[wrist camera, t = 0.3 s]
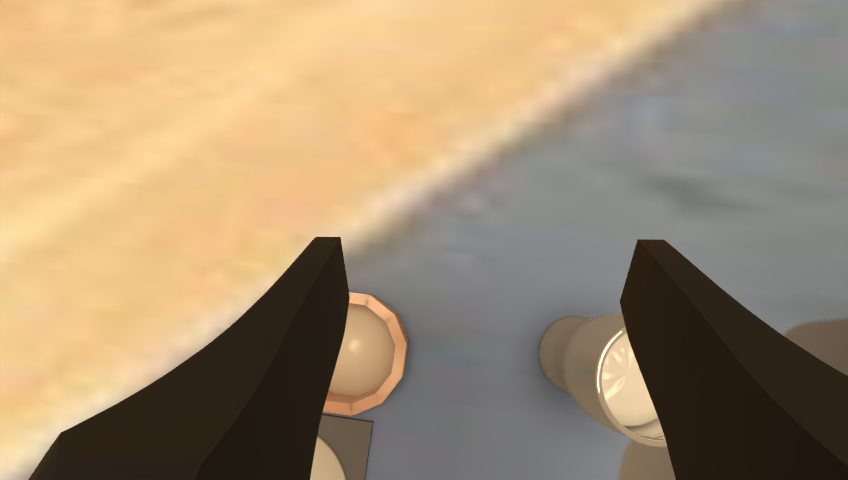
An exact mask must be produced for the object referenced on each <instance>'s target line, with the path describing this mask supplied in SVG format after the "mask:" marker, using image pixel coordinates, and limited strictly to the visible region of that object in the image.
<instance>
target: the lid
mask: <svg viewBox="0 0 848 480" xmlns="http://www.w3.org/2000/svg"><path fill="white" fill-rule="evenodd" d="M310 480H347V479H346V475H345V472H344V468H343V466H342V464H341V461H340V459H339V458H338V456H337V454H336V453H335V451H334V450H333V449H332V448H331V446H330V445H329V444H328V443H327V442H326V441H325V440H324V439H323V438H321V437H320V436H319V435H317V441H316V447H315V453H314V458H313V464H312V470H311V477H310Z"/></svg>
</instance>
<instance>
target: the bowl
mask: <svg viewBox="0 0 848 480" xmlns="http://www.w3.org/2000/svg"><path fill="white" fill-rule="evenodd" d="M349 296H350V299H349V306H348V314H347V321H346V327H345V333H344V337H343V341H342V344H341V348H340V352H339V355H338V359H337V363H336V366H335V370H334V373H333V377H332V380H331V384H330V387H329V391H328V394H327V398H326V401H325V405H324V409H323V412H329V413H336V414H343V415H349V416H353V415H355V414H357V413H360V412H362V411H365V410H367V409H369V408H372V407H374V406H377V405H379V404H382V403H383V401H384V400H385V399H386V397H387V396H388V395H389V393H390V392H391V391H392V390H393V388H394V387H395V386H396V384H397V383H398V382H399V380H400V379H401V378H402V376H403V373H404V370H405V363H406V356H407V349H408V342H409V341H408V338H407V335H406V333H405V330H404V328H403V325H402V323H401V320H400V318H399V315H398V313H396V312H395V311H394V310H393V309H391V308H390V307H389V306H388V305H386V304H385V303H384V302H383V301H381V300H380V299H379V298H377V297H376V296H373V295H366V294H359V293H352V292H349Z"/></svg>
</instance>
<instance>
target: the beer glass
mask: <svg viewBox="0 0 848 480" xmlns="http://www.w3.org/2000/svg"><path fill="white" fill-rule="evenodd" d="M539 360H540V364H541V367H542V370H543V372H544V373H545V375H546V377H547V378H548V379H549V380H550V381H551V382H552V383H553V384H554V385H555V386H557V387H558V388H560V389H562V390H564V391H566V392H570V394H571V396H572V397H573V398H574V400H575V401H576V402H577V404H578V405H579V406H580V407H581V408H582V409H583V410H584V411H585V412H586V413H587V414H589V415H590V416H591V417H592V418H593V419H595V420H596V421H597V422H599V423H601V424H602V425H604V426H606V427H607V428H609V429H611V430H613V431H615V432H617V433H619V434H622V435H624V436H626V437H628V438H630V439H632V440H634V441H636V442H638V443H641V444H644V445H648V446H653V447H667V444H666V440H665V436H664V433H663V430H662V427H661V424H660V421H659V419H658V416H657V413H656V411H655V408H654V405H653V403H652V400H651V398H650V395H649V392H648V390H647V387H646V385H645V382H644V379H643V377H642V374H641V372H640V369H639V366H638V364H637V361H636V358H635V356H634V353H633V350H632V348H631V345H630V342H629V339H628V335H627V331H626V327H625V323H624V318H623V314H622V313H620V314H608V315H603V316H600V317H597V318H594V319H591V320H590V319H587V318H583V317H567V318H563V319H561V320H559V321H557V322H555V323H554V324H553V325H551V326H550V327H549V328H548V330H547V331H546V332H545V334H544V335H543V337H542V340H541V343H540V347H539Z"/></svg>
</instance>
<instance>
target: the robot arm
mask: <svg viewBox="0 0 848 480" xmlns="http://www.w3.org/2000/svg"><path fill="white" fill-rule="evenodd" d="M349 299H350V296H349V290H348V283H347V277H346V270H345V264H344V258H343V251H342V245H341V238H340V237H316V238H315V239H313V240H312V242H311V243H310V244H309V245H308V246H307V247H306V248H305V250H304V251H303V252H302V253H301V254H300V255H299V257H298V258H297V259H296V260H295V261H294V262H293V263H292V265H291V266H290V267H289V268H288V269H287V270H286V271H285V272H284V274H283V275H282V276H281V277H280V278H279V279H278V280H277V281H276V282H275V283H274V284H273V285H272V286H271V288H270V289H269V290H268V291H267V292H266V293H265V294H264V295H263V296H262V297H261V298H260V299H259V300H258V301H257V302H256V303H255V304H254V305H253V306H252V307H251V308H250V309H249V310H247V311H246V312H245V313H244V314H243V315H242V316H241V317H240V318H239V319H238V320H237V321H236V322H235V323H234V324H232V325H231V326H230V327H229V328H228V329H227V330H225V331H224V332H223V333H222V334H221V335H219V336H218V337H217V338H216V339H214V340H213V341H212V342H211V343H209V344H208V345H207V346H206V347H204V348H203V349H201V350H200V351H199V352H197V353H196V354H194V355H193V356H192V357H190V358H189V359H187V360H186V361H184V362H183V363H182V364H180V365H179V366H177V367H176V368H175V369H173V370H172V371H170V372H169V373H167V374H166V375H164V376H163V377H161V378H159V379H158V380H156V381H155V382H153V383H151V384H150V385H148V386H147V387H145V388H143V389H142V390H140V391H138V392H137V393H135V394H133V395H132V396H130V397H128V398H126V399H125V400H123V401H121V402H119V403H118V404H116V405H114V406H112V407H110V408H108V409H106V410H104V411H103V412H101V413H99V414H97V415H95V416H93V417H91V418H89V419H87V420H85V421H83V422H81V423H79V424H78V425H76V426H74V427H72V428H70V429H68V430H66V431H63V432H61V433H60V435H59V436H58V437H57V439H56V440H55V441H54V443H53V444H52V446H51V447H50V448H49V450H48V451H47V453H46V454H45V456H44V457H43V459H42V460H41V462H40V463H39V465H38V466H37V468H36V469H35V471H34V472H33V474H32V475H31V477H30V478H29V480H310V477H311V470H312V464H313V458H314V453H315V447H316V441H317V435H318V430H319V425H320V421H321V417H322V412H323V409H324V405H325V401H326V398H327V394H328V391H329V387H330V384H331V380H332V377H333V373H334V370H335V366H336V363H337V359H338V355H339V352H340V348H341V344H342V341H343V337H344V333H345V327H346V321H347V314H348V306H349ZM620 304H621V309H622V314H623V318H624V323H625V327H626V331H627V335H628V339H629V342H630V345H631V348H632V350H633V353H634V356H635V358H636V361H637V364H638V366H639V369H640V372H641V374H642V377H643V379H644V382H645V385H646V387H647V390H648V392H649V395H650V398H651V400H652V403H653V405H654V408H655V411H656V413H657V416H658V419H659V421H660V424H661V427H662V430H663V433H664V436H665V440H666V444H667V447H668V451H669V455H670V459H671V463H672V466H673V470H674V474H675V477H676V480H848V376H847V375H845V374H843V373H841V372H840V371H838V370H836V369H834V368H833V367H831V366H829V365H828V364H826V363H824V362H823V361H821V360H819V359H818V358H816V357H815V356H813V355H812V354H810V353H809V352H807V351H805V350H804V349H802V348H801V347H799V346H798V345H796V344H795V343H793V342H792V341H790V340H789V339H787V338H786V337H784V336H783V335H781V334H780V333H778V332H777V331H776V330H774V329H773V328H771V327H770V326H769V325H767V324H766V323H765V322H763V321H762V320H761V319H759V318H758V317H757V316H755V315H754V314H753V313H751V312H750V311H749V310H747V309H746V308H745V307H744V306H742V305H741V304H740V303H738V302H737V301H736V300H735V299H733V298H732V297H731V296H730V295H729V294H727V293H726V292H725V291H724V290H722V289H721V288H720V287H719V286H718V285H716V284H715V283H714V282H713V281H712V280H711V279H709V278H708V277H707V276H706V275H705V274H704V273H702V272H701V271H700V270H699V269H698V268H697V267H696V266H694V265H693V264H692V263H691V262H690V261H689V260H687V259H686V258H685V257H684V256H683V255H682V254H681V253H679V252H678V251H677V250H676V249H675V248H673V247H672V246H671V245H670V244H669V243H667V242H666V241H665V240H638V241H637V244H636V247H635V251H634V254H633V258H632V261H631V265H630V268H629V272H628V275H627V279H626V282H625V286H624V289H623V293H622V296H621V300H620Z"/></svg>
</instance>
